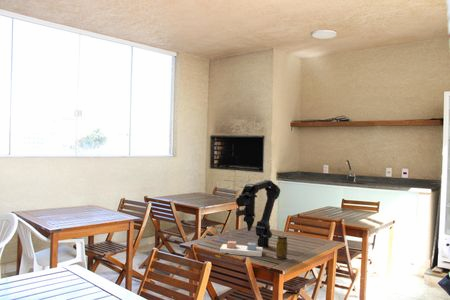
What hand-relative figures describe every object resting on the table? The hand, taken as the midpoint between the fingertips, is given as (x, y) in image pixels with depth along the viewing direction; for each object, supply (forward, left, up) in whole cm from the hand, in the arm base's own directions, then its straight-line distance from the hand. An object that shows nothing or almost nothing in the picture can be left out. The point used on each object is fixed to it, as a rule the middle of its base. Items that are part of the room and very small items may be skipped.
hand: (249, 231), depth 234 cm
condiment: (-20, +10, -12) cm, 26 cm away
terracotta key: (+9, +5, -10) cm, 15 cm away
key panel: (+3, +5, -12) cm, 13 cm away
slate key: (-3, +5, -10) cm, 12 cm away
